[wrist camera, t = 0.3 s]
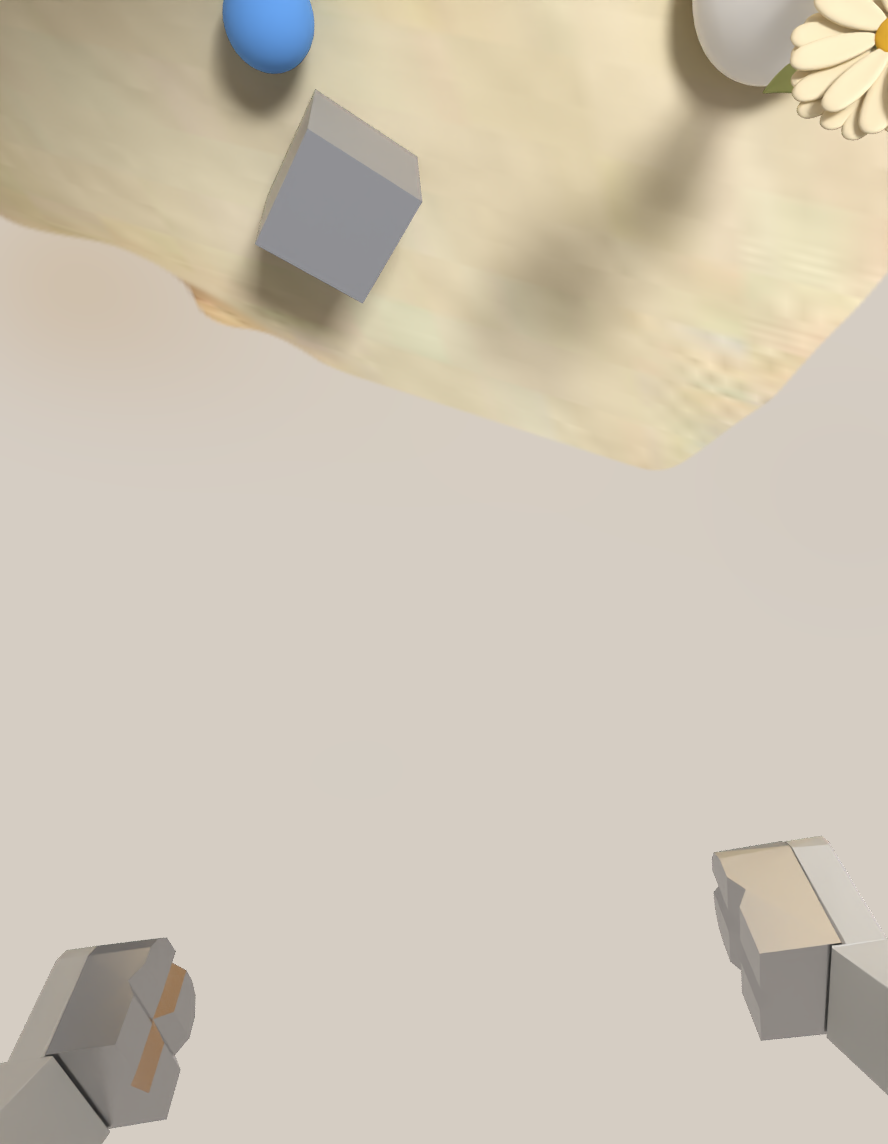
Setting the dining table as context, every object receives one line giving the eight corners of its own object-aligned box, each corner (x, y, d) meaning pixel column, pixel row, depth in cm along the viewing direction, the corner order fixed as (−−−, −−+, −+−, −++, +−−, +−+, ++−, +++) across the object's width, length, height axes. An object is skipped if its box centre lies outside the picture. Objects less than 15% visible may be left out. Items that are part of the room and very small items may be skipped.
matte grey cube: (315, 89, 47) (307, 128, 42) (417, 156, 50) (422, 201, 45) (267, 196, 52) (254, 244, 46) (364, 252, 55) (362, 303, 49)
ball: (249, -66, 42) (237, -53, 38) (331, -6, 44) (327, 12, 41) (216, 27, 45) (202, 48, 41) (294, 79, 47) (288, 103, 43)
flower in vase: (906, -199, 40) (1319, -187, 22) (865, 53, 48) (1143, 206, 30) (655, -129, 41) (859, -66, 24) (656, 105, 49) (809, 280, 32)
